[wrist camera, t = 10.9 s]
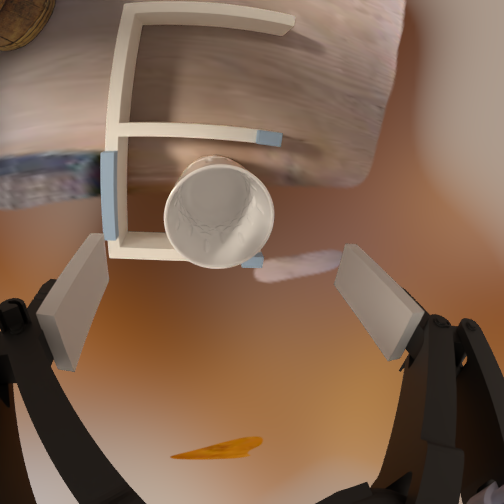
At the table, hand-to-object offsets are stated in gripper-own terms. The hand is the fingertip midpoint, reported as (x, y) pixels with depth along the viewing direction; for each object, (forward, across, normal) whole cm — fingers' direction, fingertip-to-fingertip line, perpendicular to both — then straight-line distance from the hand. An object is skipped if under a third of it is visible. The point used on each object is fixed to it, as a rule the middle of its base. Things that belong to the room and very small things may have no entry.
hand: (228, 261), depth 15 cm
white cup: (+16, 0, 0) cm, 16 cm away
